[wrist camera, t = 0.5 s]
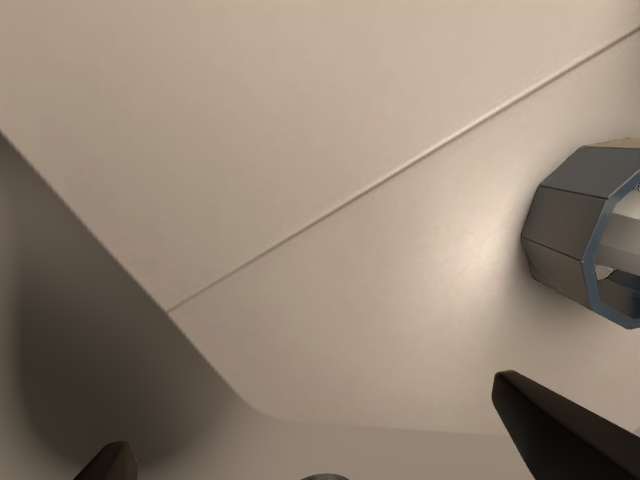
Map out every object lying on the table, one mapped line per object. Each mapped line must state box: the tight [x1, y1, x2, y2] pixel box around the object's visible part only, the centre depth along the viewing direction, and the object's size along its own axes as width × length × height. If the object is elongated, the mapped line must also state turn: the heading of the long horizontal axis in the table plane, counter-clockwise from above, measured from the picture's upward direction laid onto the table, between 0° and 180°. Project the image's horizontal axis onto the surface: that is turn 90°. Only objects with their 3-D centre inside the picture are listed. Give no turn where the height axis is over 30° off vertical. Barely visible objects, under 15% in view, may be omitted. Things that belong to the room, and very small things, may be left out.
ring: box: [521, 138, 640, 330], centre depth 20 cm, size 10×11×4 cm
